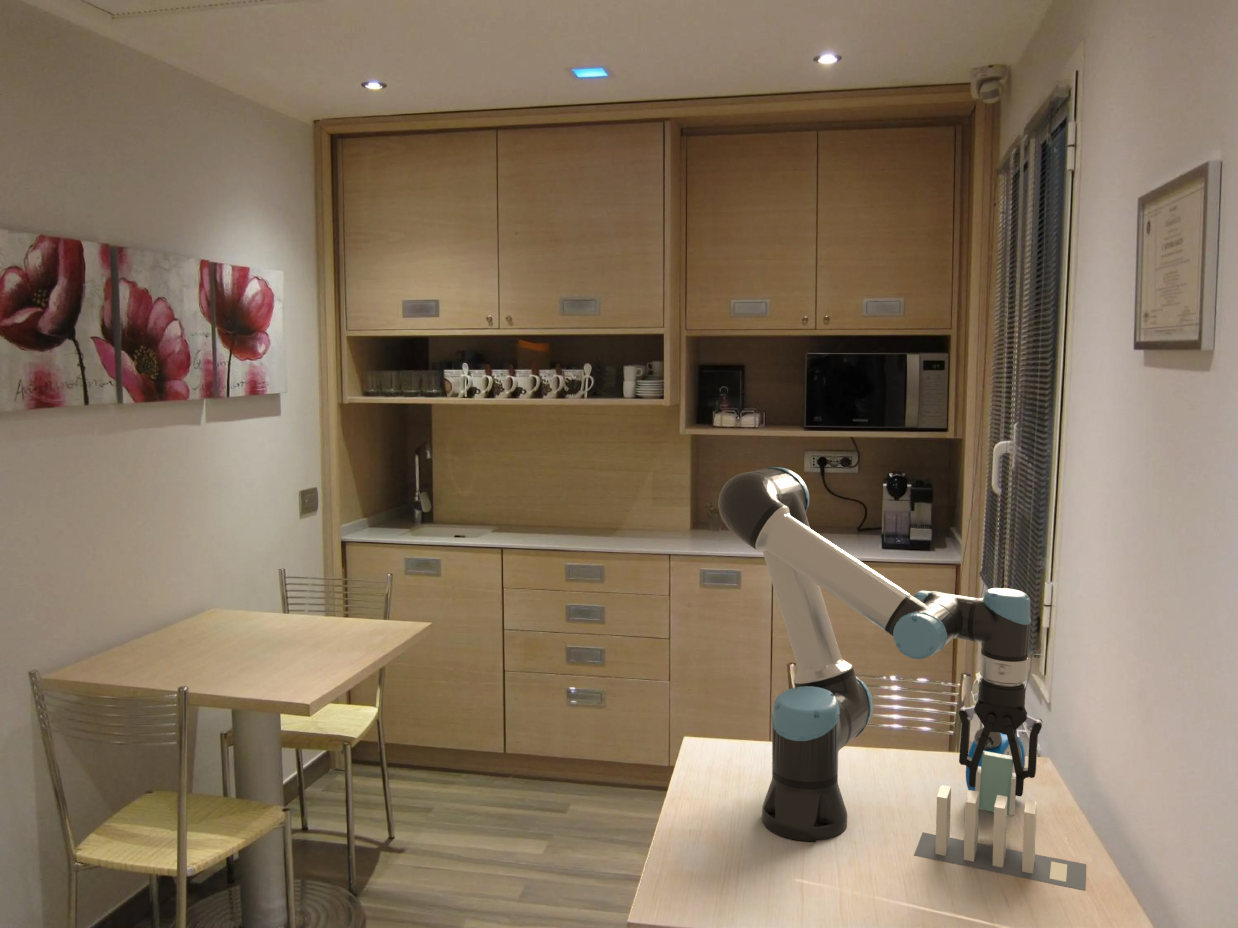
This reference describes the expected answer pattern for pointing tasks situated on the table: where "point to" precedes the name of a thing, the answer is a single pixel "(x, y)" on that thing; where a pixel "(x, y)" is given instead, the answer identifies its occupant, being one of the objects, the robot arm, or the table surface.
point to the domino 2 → (971, 825)
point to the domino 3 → (995, 779)
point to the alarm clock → (993, 749)
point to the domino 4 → (999, 831)
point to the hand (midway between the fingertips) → (994, 807)
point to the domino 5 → (1029, 836)
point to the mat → (1008, 862)
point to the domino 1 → (943, 820)
